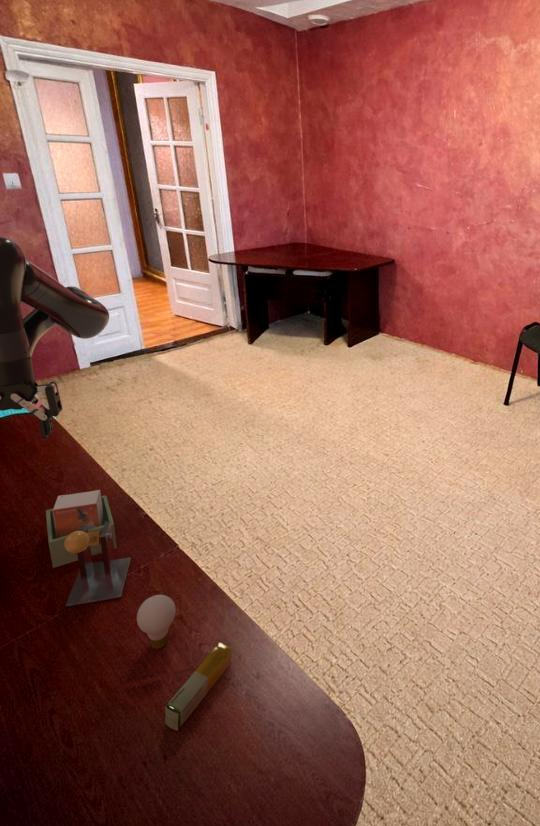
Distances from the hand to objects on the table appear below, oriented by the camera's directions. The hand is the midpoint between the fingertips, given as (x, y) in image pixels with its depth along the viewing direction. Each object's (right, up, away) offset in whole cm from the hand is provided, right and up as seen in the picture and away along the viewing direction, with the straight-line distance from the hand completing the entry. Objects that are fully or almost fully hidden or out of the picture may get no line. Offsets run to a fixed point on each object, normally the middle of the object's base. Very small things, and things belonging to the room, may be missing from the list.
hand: (18, 438), depth 88 cm
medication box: (+38, -39, -12) cm, 56 cm away
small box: (0, -25, +18) cm, 31 cm away
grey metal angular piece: (+11, -30, +7) cm, 33 cm away
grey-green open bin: (0, -26, +18) cm, 31 cm away
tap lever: (+13, -20, -2) cm, 24 cm away
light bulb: (+28, -36, -4) cm, 46 cm away
